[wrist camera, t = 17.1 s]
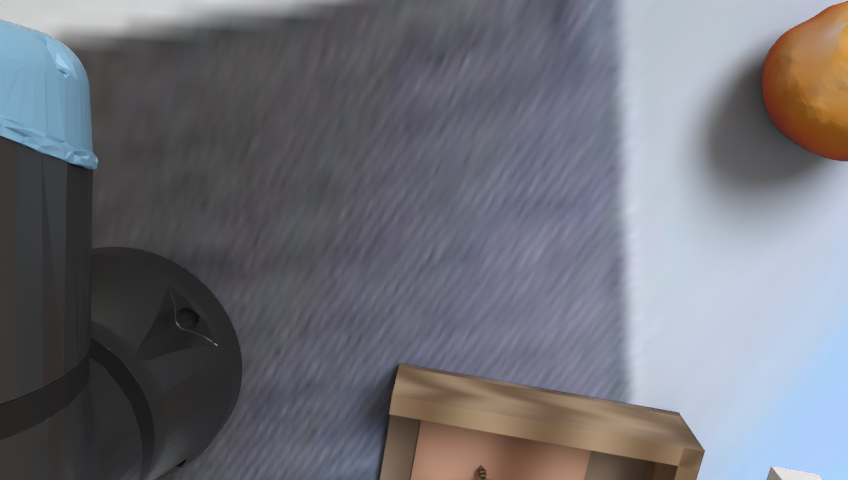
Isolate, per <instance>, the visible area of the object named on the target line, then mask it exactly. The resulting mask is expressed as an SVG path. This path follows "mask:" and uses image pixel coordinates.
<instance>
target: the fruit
mask: <svg viewBox="0 0 848 480" xmlns="http://www.w3.org/2000/svg"><path fill="white" fill-rule="evenodd" d="M761 88H762V94H763V100H764V104H765V107H766V109H767V111H768V114H769V116H770V118H771V120H772V122H773V123H774V125H775V126H776V127H777V129H778V130H779V131H780V132H782V133H783V134H784V135H785V136H786V137H788V138H789V139H790V140H791V141H793V142H794V144H798V145H799V146H801V147H802V148H804V149H806V150H808V151H810V152H812V153H815V154H818V155H820V156H823V157H826V158H829V159H833V160H839V161H848V1H846V2H843V3H840V4H836V5H833V6H830V7H828V8H826V9H825V10H823V11H822V12H820V13H819V14H818V15H816V16H815V17H813V18H811V19H809V20H807V21H805V22H803V23H801V24H799V25H797V26H795V27H794V28H792V29H790V30H788V31H787V32H786V33H784V34H783V35H782V36H781V37H780V38H779V39H778V40H777V41H776V43H775V44H774V45H773V46H772V47H771V49H770V50H769V52H768V54H767V57H766V60H765V63H764V68H763V75H762V80H761Z"/></svg>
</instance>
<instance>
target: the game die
mask: <svg viewBox="0 0 848 480" xmlns="http://www.w3.org/2000/svg"><path fill="white" fill-rule="evenodd" d="M486 471H487V470H485V469H484V468H483V467H482V465H481V466H480V469H479V470H478V473H479V476H480V478H481V480H489V479H486V475H487V474H486Z"/></svg>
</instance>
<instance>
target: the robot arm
mask: <svg viewBox="0 0 848 480" xmlns="http://www.w3.org/2000/svg"><path fill="white" fill-rule="evenodd" d="M97 164H98V158H97V157H96V156H95V155H94V153H93V148H92V130H91V111H90V93H89V82H88V77H87V74H86V71H85V69H84V67H83V65H82V63H81V62H80V60H79V59H78V57H77V56H76V55H75V54H74V53H73V52H72V51H71V50H70V49H69V48H68V47H67V46H66V45H64V44H63V43H62V42H60V41H58V40H57V39H55V38H53V37H51V36H49V35H47V34H45V33H42V32H40V31H37V30H34V29H30V28H27V27H24V26H21V25H18V24H14V23H11V22H8V21H4V20H1V19H0V480H154V479H157V478H160V477H163V476H165V475H168V474H170V473H172V472H174V471H176V470H178V469H180V468H182V467H183V466H185V465H187V464H188V463H190V462H191V461H192V460H194V459H195V458H196V457H197V456H198V455H200V454H201V453H202V452H203V451H204V450H205V449H206V448H207V447H208V446H209V445H210V443H211V442H212V441H213V440H214V438H215V437H216V435H217V434H218V433H219V431H220V430H221V429H222V427H223V426H224V424H225V423H226V421H227V420H228V418H229V417H230V415H231V413H232V411H233V409H234V406H235V404H236V401H237V398H238V395H239V391H240V386H241V378H242V360H241V352H240V347H239V343H238V339H237V336H236V333H235V330H234V328H233V325H232V323H231V321H230V319H229V317H228V315H227V313H226V312H225V310H224V308H223V307H222V305H221V304H220V302H219V301H218V300H217V298H216V297H215V296H214V295H213V293H212V292H211V291H210V290H209V289H208V288H207V287H206V286H205V285H204V284H203V283H202V282H201V281H200V280H199V279H197V278H196V277H195V276H194V275H192V274H191V273H190V272H188V271H187V270H186V269H184V268H182V267H181V266H179V265H178V264H176V263H174V262H172V261H170V260H168V259H166V258H163V257H161V256H158V255H156V254H153V253H150V252H146V251H142V250H138V249H132V248H124V247H105V248H96V249H91V247H92V183H93V169H97ZM767 480H822V479H821V478H820V477H819V476H818V475H817V474H812V473H806V472H801V471H795V470H790V469H784V468H778V467H773V466H771V468H770V471H769V474H768V477H767Z"/></svg>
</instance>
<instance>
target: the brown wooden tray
mask: <svg viewBox="0 0 848 480" xmlns="http://www.w3.org/2000/svg"><path fill="white" fill-rule="evenodd" d="M389 414H391V416H390V422H389V428H388V433H387V439H386V445H385V451H384V457H383V463H382V469H381V475H380V480H481V478H480V476H479V473H478V470H479V469H480V466H481V465H482V467H483V468H484V469H485V470H487V471H486V474H487V475H486V479H489V480H696V479H697V475H698V472H699V469H700V465H701V462H702V459H703V455H704V452H705V451H704V449H703V448H702V446H701V445H700V443H699V442H698V440H697V439H696V437H695V436H694V434H693V433H692V431H691V430H690V428H689V427H688V426H687V424H686V423H685V421H684V420H683V418H682V417H681V415H680V414H679V413H678V412H672V411H666V410H661V409H655V408H649V407H644V406H638V405H633V404H627V403H621V402H616V401H610V400H604V399H599V398H593V397H588V396H582V395H576V394H571V393H565V392H559V391H554V390H548V389H542V388H537V387H531V386H526V385H520V384H514V383H509V382H503V381H497V380H492V379H486V378H480V377H475V376H469V375H464V374H458V373H452V372H447V371H441V370H435V369H430V368H424V367H419V366H413V365H407V364H402V363H399V368H398V372H397V376H396V381H395V385H394V389H393V394H392V399H391V405H390V411H389Z"/></svg>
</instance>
